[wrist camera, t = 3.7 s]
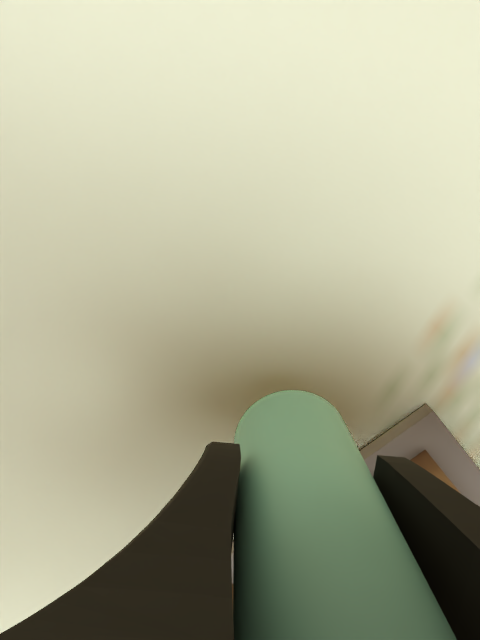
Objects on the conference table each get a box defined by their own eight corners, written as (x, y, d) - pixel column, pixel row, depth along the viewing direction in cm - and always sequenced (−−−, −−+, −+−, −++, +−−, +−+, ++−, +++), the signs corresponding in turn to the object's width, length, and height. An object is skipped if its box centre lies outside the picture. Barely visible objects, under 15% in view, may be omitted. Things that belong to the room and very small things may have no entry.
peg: (281, 512, 12) (338, 886, 5) (210, 436, 12) (177, 747, 5) (370, 449, 12) (551, 769, 5) (300, 367, 11) (400, 602, 4)
